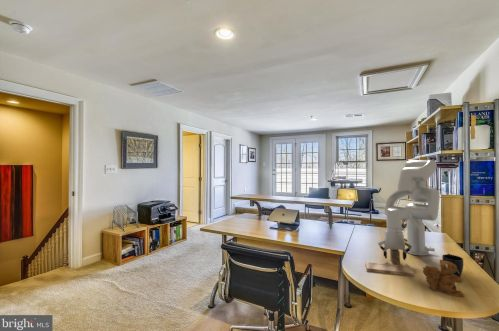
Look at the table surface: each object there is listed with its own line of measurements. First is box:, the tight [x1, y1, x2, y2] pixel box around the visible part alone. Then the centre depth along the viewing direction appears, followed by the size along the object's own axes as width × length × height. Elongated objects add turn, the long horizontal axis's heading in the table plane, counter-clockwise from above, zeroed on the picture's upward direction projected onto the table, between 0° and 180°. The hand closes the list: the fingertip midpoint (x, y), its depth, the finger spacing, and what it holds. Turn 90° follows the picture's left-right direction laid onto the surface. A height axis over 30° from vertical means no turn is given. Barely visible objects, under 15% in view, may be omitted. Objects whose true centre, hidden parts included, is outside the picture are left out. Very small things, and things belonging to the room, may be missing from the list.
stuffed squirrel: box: [422, 259, 465, 298], centre depth 111 cm, size 10×14×13 cm
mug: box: [441, 253, 464, 278], centre depth 125 cm, size 8×12×10 cm
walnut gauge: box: [389, 249, 401, 265], centre depth 140 cm, size 4×10×7 cm, turn 160°
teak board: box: [364, 261, 415, 277], centre depth 133 cm, size 22×9×2 cm, turn 70°
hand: (394, 258), depth 143 cm, fingers open, 9 cm apart
